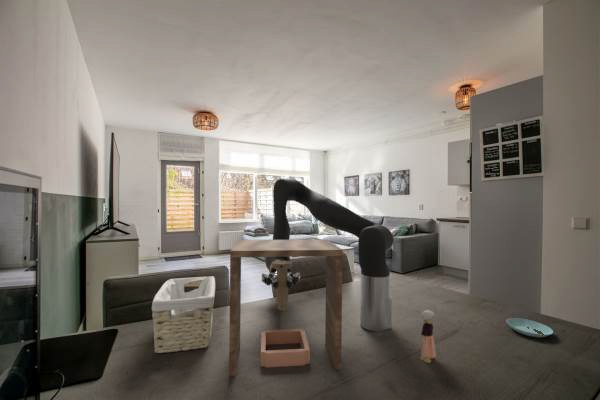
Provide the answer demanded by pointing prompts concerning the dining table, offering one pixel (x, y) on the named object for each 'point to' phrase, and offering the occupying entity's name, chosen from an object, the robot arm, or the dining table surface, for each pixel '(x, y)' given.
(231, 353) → the wooden footstool
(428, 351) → the grandmother figurine
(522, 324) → the saucer
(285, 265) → the handle
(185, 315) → the storage basket
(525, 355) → the dining table surface
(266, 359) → the socket
